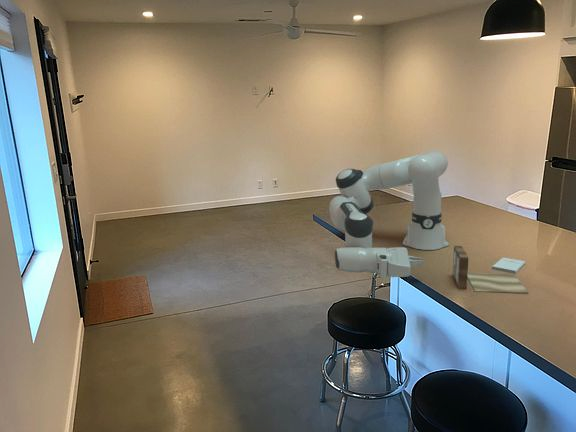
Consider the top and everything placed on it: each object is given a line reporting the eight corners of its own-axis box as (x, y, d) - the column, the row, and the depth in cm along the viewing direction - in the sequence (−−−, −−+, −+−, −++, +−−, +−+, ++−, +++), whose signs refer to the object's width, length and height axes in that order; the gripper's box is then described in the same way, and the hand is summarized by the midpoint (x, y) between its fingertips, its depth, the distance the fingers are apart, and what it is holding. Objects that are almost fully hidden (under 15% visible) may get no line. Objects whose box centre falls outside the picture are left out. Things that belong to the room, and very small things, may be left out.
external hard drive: (491, 270, 170) (502, 260, 179) (515, 275, 165) (525, 265, 174) (491, 266, 170) (502, 256, 179) (516, 270, 164) (525, 260, 174)
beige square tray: (465, 273, 166) (465, 272, 166) (513, 275, 164) (513, 274, 163) (474, 291, 151) (475, 290, 151) (528, 293, 148) (528, 292, 148)
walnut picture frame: (452, 275, 165) (453, 245, 163) (459, 275, 165) (461, 245, 162) (457, 288, 154) (459, 257, 151) (466, 289, 153) (468, 257, 151)
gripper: (380, 258, 173) (419, 260, 170) (381, 279, 153) (425, 281, 151) (381, 242, 171) (420, 243, 169) (381, 261, 152) (426, 262, 149)
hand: (422, 261), depth 160 cm, fingers closed
